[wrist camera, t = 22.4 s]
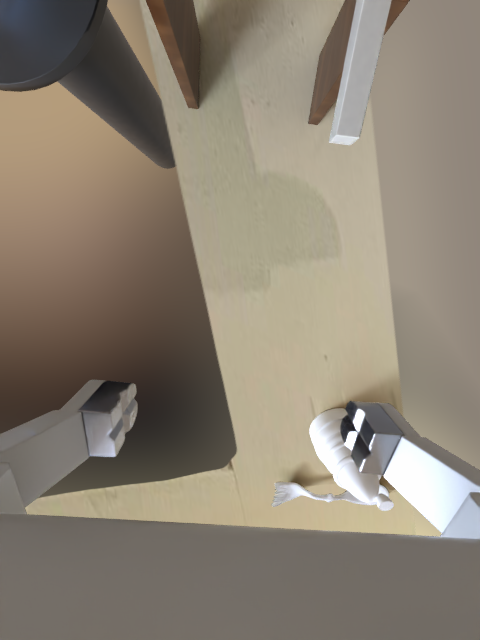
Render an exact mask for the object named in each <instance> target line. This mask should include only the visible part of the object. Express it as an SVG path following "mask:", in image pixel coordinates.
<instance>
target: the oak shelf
mask: <svg viewBox="0 0 480 640" xmlns="http://www.w3.org/2000/svg"><path fill="white" fill-rule="evenodd" d="M356 1H357V0H345V2H344V4H343V6H342V8H341V10H340V12H339V14H338V17H337V19H336V21H335V23H334V25H333V27H332V30H331V32H330V34H329V36H328V38H327V40H326V43H325V45H324V47H323V49H322V51H321V53H320V56H319V62H318V68H317V74H316V80H315V86H314V92H313V98H312V104H311V110H310V116H309V122H308V124H315V125H318V124H319V122H320V121H321V119H322V118H323V117H324V115H325V114H326V113H327V111H328V110H329V109H330V107H331V106H332V105H333V103H334V102H335V101H336V99H337V98H338V93H339V88H340V83H341V78H342V73H343V67H344V62H345V57H346V52H347V47H348V42H349V37H350V32H351V26H352V21H353V16H354V11H355V6H356ZM409 1H410V0H392V1H391V6H390V10H389V14H388V18H387V23H386V27H385V31H384V35H385V33H386V32H387V31H388V29H389V28H390V26H391V25H392V24H393V22H394V21H395V20H396V18H397V17H398V16H399V14H400V13H401V12H402V10H403V9H404V8H405V6H406V5H407V4H408V2H409ZM146 2H147V5H148V7H149V10H150V12H151V15H152V17H153V20H154V22H155V25H156V27H157V30H158V32H159V35H160V37H161V40H162V42H163V45H164V47H165V50H166V52H167V55H168V58H169V60H170V63H171V65H172V68H173V70H174V73H175V75H176V78H177V80H178V83H179V85H180V88H181V90H182V93H183V95H184V98H185V100H186V103H187V105H188V108H194V109H198V97H199V65H200V34H199V28H198V23H197V18H196V13H195V8H194V2H193V0H146Z"/></svg>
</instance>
